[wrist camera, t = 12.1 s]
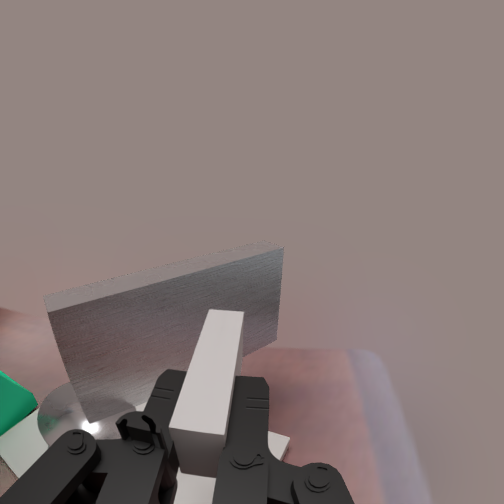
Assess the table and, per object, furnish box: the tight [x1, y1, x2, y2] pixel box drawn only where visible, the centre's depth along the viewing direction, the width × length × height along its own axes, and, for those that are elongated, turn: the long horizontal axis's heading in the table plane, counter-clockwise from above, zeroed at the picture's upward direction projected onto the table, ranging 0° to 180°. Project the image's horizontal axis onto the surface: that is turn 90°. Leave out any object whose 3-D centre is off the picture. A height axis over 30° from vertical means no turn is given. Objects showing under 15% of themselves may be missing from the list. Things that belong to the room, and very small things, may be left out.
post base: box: [0, 402, 290, 504], centre depth 18 cm, size 20×16×3 cm
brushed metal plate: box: [37, 241, 284, 447], centre depth 19 cm, size 20×7×12 cm, turn 132°
